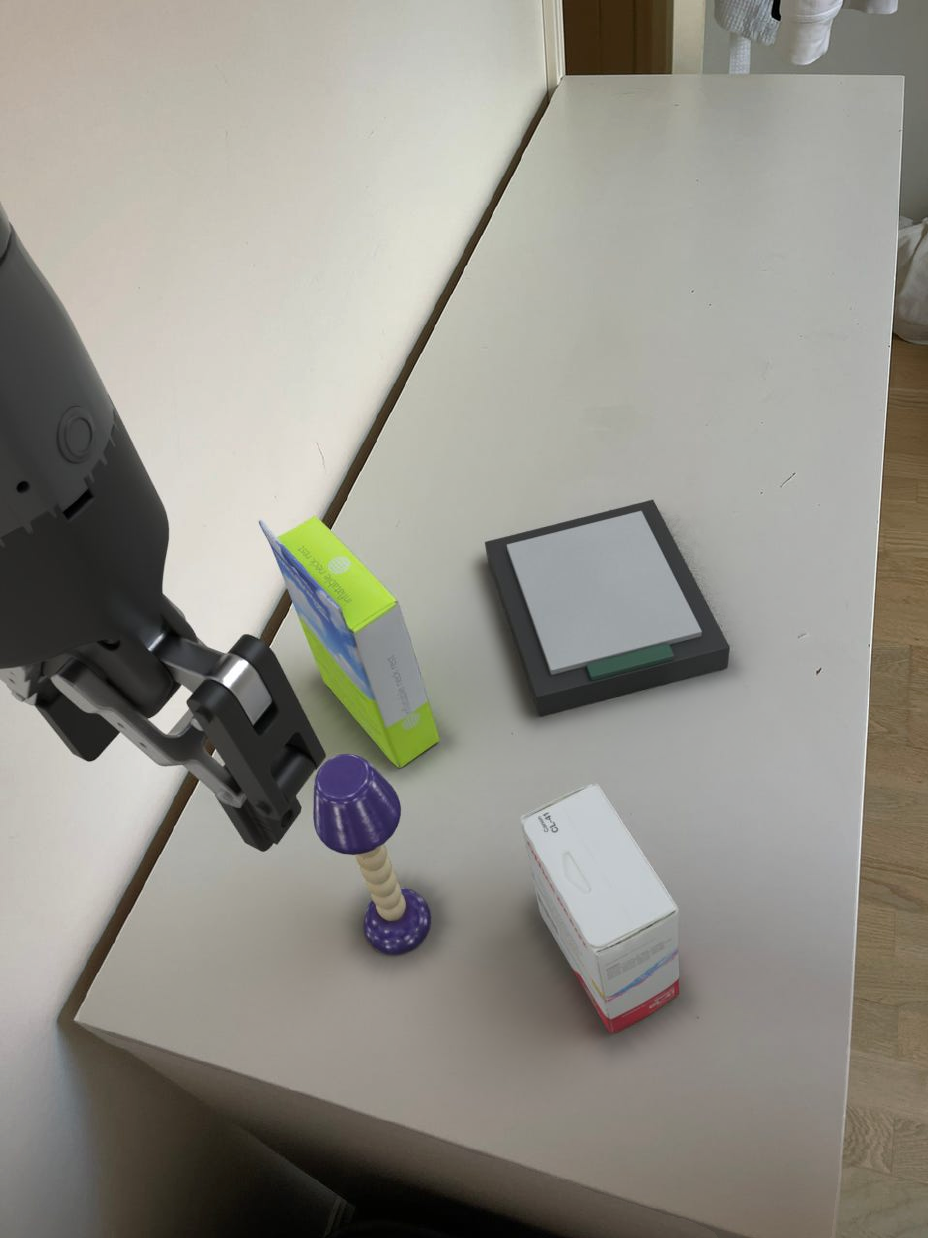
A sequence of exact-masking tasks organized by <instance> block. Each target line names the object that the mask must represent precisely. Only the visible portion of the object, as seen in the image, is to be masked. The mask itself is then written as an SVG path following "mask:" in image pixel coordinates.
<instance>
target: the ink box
mask: <svg viewBox="0 0 928 1238" xmlns="http://www.w3.org/2000/svg"><path fill="white" fill-rule="evenodd" d="M519 822H520V825H521V829H522V830H521V831H522V834H523V839H524V844H525V849H526V853H527V859H528V864H529V868H530V871H531V877H532V881H533V885H534V886H533V887H534V890H535V891H534V892H535V895H536V900H537V905H538V910H539V912H540V913H539V914H540V916H541V918H542V919H543V922H544V923H545V925H546V926H547V928H548V930H549V931H550V933H551V935H552V937H553V938H554V940H555V942H556V943H557V945H558V947H559V948H560V951H561V952H562V954H563V955H564V957H565V959H566V961H567V963H568V964H569V966H570V968H571V969H572V971H573V973H574V974H575V976H576V978H577V979H578V981H579V982H580V985H581V986H582V987H583V989H584V991H585V993H586V994H587V996H588V998H589V999H590V1002H591V1004H592V1005H593V1006H594V1008H595V1010H596V1011H597V1013H598V1016H599V1017H600V1019H601V1020H602V1022H603V1024H604V1025H605V1027H606V1029H607V1031H608V1032H609V1033H610V1034H615V1033H618V1032H621V1031H623V1030H624V1029H627V1028H628V1027H630V1026H632V1025H634V1024H636V1023H637V1022H639V1021H641V1020H643V1019H644V1018H646V1017H648V1016H650V1015H651V1014H653V1013H654V1012H656V1011H657V1010H659V1009H660V1008H662V1007H664V1006H665V1005H667V1003H670V1002H671V1001H672V1000H673V999H675V998H676V997H678V996H679V995H680V969H679V968H680V967H679V966H680V965H679V911H680V908H679V907H678V905H677V904H676V902H675V901H674V898H672V896H671V895H670V893H669V891H668V890H667V888H666V886H665V885H664V883H663V881H662V880H661V879H660V877H659V875H658V874H657V873H656V871H655V870H654V868H653V865H651V863H650V862H649V860H648V858H647V857H646V855H645V854H644V853H643V851H642V849H641V848H640V846H639V845H638V843H637V842H636V840H635V838H634V837H633V836H632V834H631V833H630V831H629V830H628V828H627V827H626V825H625V824H624V822H623V821H622V819H621V817H620V816H619V814H618V813H617V811H616V809H615V808H614V806H613V805H612V804H611V802H610V800H609V799H608V798H607V795H606V794H605V793H604V791H603V790H602V788H601V787H600V786H599V784H598V783H595V782H594V783H590V784H587V785H584V786H583V787H580V788H576V789H575V790H573V791H570V792H569V793H566V794H563V795H562V796H559V797H557V798H555V799H553V800H551V801H549V802H547V803H545V804H543V805H541V806H538V807H537V808H534V809H533V810H530V811H529V812H527V813H524V814H522V815H521V816H519Z"/></svg>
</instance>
